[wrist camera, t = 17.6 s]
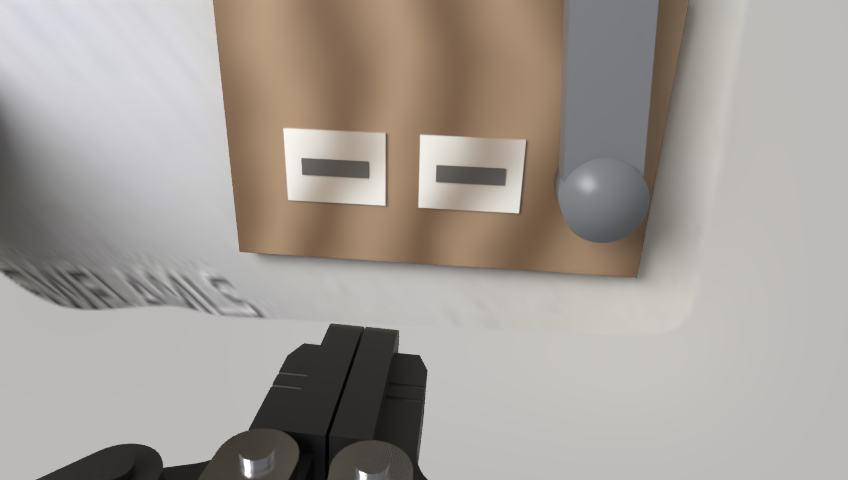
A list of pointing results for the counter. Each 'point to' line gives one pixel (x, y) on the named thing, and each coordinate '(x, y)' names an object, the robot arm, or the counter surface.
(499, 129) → the label board
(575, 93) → the swing arm
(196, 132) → the counter surface
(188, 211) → the counter surface
